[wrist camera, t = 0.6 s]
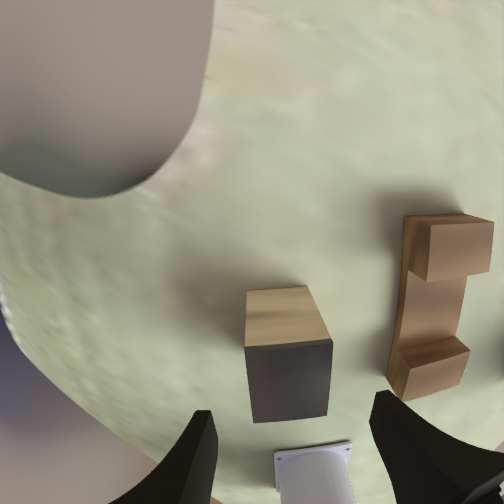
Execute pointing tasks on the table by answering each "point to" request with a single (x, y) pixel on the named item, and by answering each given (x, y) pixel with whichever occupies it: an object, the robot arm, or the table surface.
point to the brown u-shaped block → (434, 300)
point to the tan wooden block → (286, 355)
